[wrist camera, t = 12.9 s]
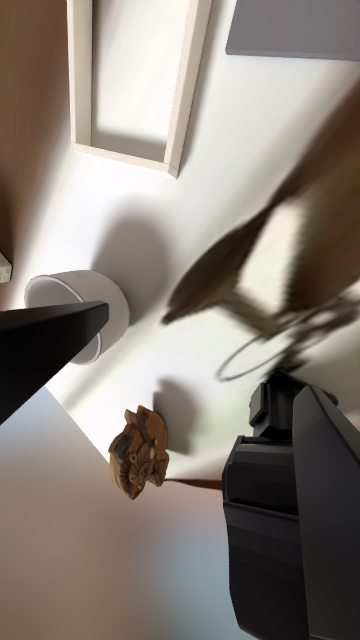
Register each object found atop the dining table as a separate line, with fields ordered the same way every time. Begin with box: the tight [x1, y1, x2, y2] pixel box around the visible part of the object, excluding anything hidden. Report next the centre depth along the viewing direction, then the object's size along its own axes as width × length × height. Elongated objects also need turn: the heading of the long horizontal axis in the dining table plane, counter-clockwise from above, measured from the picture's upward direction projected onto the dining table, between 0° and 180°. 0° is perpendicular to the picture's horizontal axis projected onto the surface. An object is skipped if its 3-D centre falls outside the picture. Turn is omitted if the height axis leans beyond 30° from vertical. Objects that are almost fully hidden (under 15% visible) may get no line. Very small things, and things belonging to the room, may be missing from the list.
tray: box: [67, 0, 212, 179], centre depth 15 cm, size 11×11×2 cm
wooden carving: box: [108, 405, 169, 500], centre depth 28 cm, size 16×5×10 cm, turn 16°
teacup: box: [24, 270, 130, 365], centre depth 24 cm, size 14×11×8 cm
